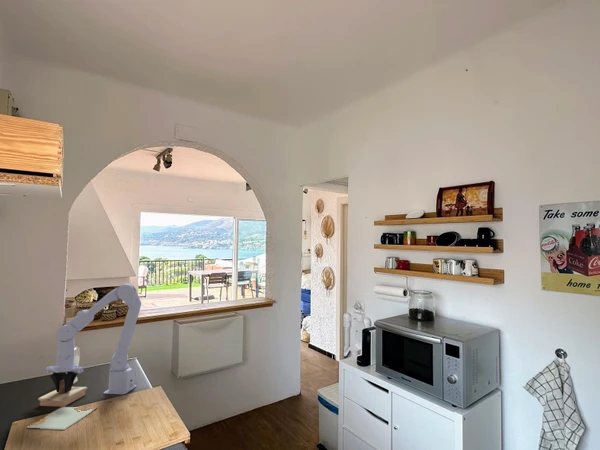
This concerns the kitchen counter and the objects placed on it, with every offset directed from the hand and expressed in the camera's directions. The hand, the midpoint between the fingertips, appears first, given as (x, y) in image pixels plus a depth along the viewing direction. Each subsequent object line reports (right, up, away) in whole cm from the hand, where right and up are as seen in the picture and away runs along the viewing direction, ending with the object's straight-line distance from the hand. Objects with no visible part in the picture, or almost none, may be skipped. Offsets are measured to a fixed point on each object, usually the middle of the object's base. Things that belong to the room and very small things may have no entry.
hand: (63, 391), depth 124 cm
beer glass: (-10, -5, +17) cm, 20 cm away
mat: (+11, -2, -14) cm, 18 cm away
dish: (0, -3, 0) cm, 3 cm away
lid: (0, -1, 0) cm, 1 cm away
